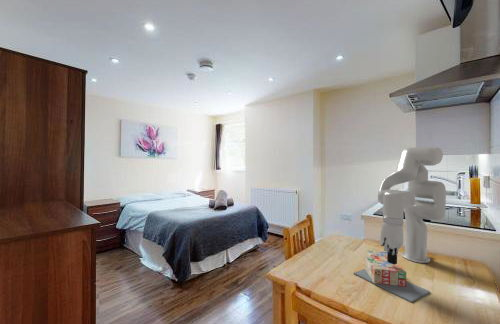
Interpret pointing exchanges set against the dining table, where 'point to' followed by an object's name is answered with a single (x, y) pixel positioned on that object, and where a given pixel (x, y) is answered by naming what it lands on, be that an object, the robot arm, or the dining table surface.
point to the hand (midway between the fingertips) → (392, 262)
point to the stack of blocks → (384, 269)
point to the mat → (398, 288)
